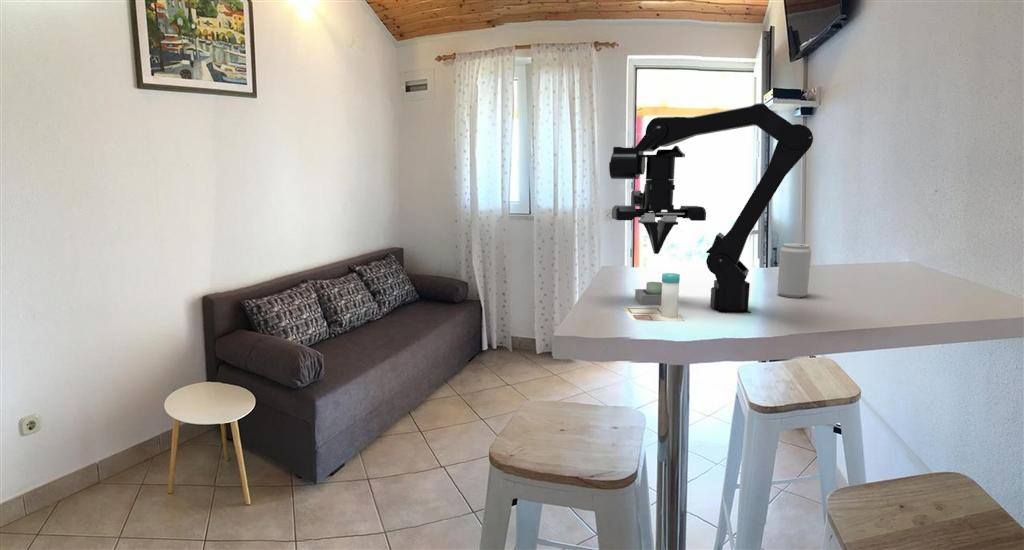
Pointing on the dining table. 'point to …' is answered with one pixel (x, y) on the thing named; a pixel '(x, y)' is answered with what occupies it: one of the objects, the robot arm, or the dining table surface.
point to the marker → (670, 295)
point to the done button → (654, 288)
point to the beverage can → (794, 270)
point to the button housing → (647, 297)
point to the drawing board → (647, 314)
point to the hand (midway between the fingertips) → (656, 253)
